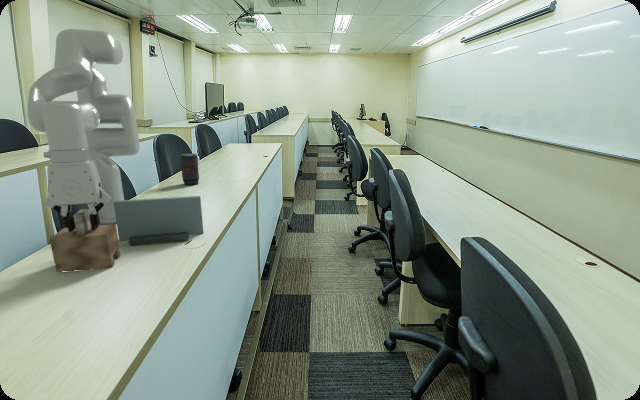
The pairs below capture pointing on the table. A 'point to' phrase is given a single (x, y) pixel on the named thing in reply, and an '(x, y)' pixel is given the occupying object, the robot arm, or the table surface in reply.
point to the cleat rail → (158, 238)
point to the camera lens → (189, 169)
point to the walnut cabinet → (85, 245)
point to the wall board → (158, 216)
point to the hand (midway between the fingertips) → (84, 228)
